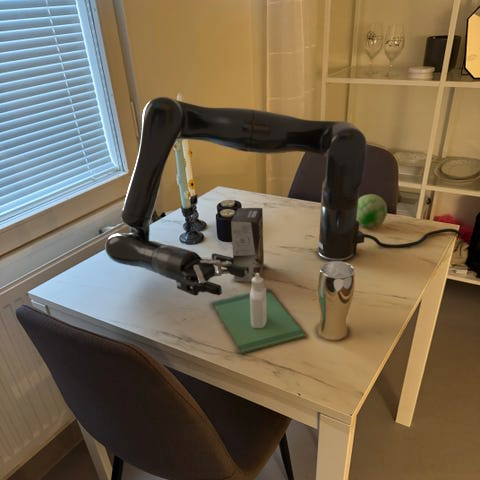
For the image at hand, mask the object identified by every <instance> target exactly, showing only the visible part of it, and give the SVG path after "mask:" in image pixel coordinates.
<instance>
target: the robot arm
mask: <svg viewBox="0 0 480 480" xmlns="http://www.w3.org/2000/svg"><path fill="white" fill-rule="evenodd" d="M141 128H142V129H141V137H140V144H139V151H138V155H137V158H136V163H135V166H134V170H133V173H132V175H131V179H130V182H129V185H128V188H127V192H126V195H125V199H124V201H123V205H122V208H121V209H122V210H121V213H120V220H121V221H122V223H123V224H125V225H126V226H128V227H129V233H123V232H122V233H113V234H112V235H110V236H109V237H107V238H106V241H105V244H104V250H105V253H106V255H107V257H108V258H109V259H110V260H112V261H113V262H115V263H117V264H120V265H126V266H131V267H137V268H142V269H145V270H147V271H150V272H153V273H155V274H158V275H160V276H162V277H163V278H167V279H170V280H173V281H175V283H176V289H178V290H180V291H183V292H185V293H187V294H190V295H193V296H198V295H199V293H208V294H211V295H214V296H220V295H222V293H223V292H222V291H223V290H222V286H221V284H218V283H215V282H212V281H209V280H210V279H211V278H214V277H221V276H222V275H224V274H225V275H226V274H227V275H228V274H229V275H232V276H238V277H241V278H243V277H244V276H245V269H244V268H243V267H240V266H236V265H234V258H233V256H229V255H228V256H227V255H223V254H220V253H216V252H214V253H211V257H210V258H202V257H201V256H200V255H199V254H198V253H197V252H195V251H193V250H189V249H186V248H183V247H179V246H176V245H173V244H166V243H162V242H159V241H153V240H150V233H151V232H150V231H151V230H150V223H151V219H152V217H153V214H154V210H155V207H156V203H157V200H158V196H159V191H160V187H161V183H162V178H163V174H164V170H165V167H166V165H167V161H168V159H169V156H170V154H171V151H172V150H173V148H174V146H175V144H176V142H177V140H193V141H203V142H208V143H211V144H215V145H217V146H221V147H224V148H228V149H231V150H236V151H238V152H239V151H241V152H245V153H252V154H261V155H279V154H286V153H294V152H301V153H308V154H313V155H317V156H321V157H325V158H326V167H325V177H324V179H323V180H322V184H321V195H320V197H321V199H320V218H319V234H318V235H319V236H318V242H317V246H318V249H317V255H318V256H319V257H320V258H321V259H323V260H325V261H327V262H331V261H342V262H346V261H348V260H350V259H351V258H353V257H354V256H357V250H358V249H357V248H358V245H359V244H364V243H365V238H366V239H370V240H372V241H374V242H375V243H376V245H378V246H379V247H382V248H392V249H394V248H395V249H396V248H397V249H399V248H407V247H408V248H409V247H412V246H413V247H414V246H417V245H420V244H422V243H423V242H424V241H425V240H426V239H427V238H428V237H430V236H433V235H438V234H442V233H443V234H444V233H454V234H455V235H458V236H463V233H462V232H461V231H460V230H458V229H456V228H442V229H437V230H433V231H429V232H427V233H425V234H424V235H423V236H422V237H421V238H420V239H419V240H416V241H412V242H407V243H401V244H400V243H399V244H390V243H384V242H381V241H380V240H379V239H378V238H377V237H376V236H373V235H371V234H368V233H364V232H363V231H361V230H360V226H359V221H357V220H356V219H357V209H358V199H359V198H360V189H361V185H363V181H364V175H365V168H366V161H367V153H368V143H367V138H366V136H365V134H364V133H363V132H362V131H361V130H360V129H359V128H358V127H357V126H355V125H354V124H353V123H350V122H348V121H344V120H313V119H312V120H311V119H303V118H300V117H296V116H291V115H287V114H283V113H276V112H272V111H267V110H259V109H254V108H253V109H252V108H241V107H208V106H202V105H197V104H193V103H189V102H185V101H181V100H178V99H174V98H172V97H169V96H157V97H154V98H153V99H151V100H149V101H148V102H147V104H146V105H145V107H144V109H143V112H142V127H141ZM216 267H217V270H216ZM222 268H224V269H222Z"/></svg>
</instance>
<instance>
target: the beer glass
mask: <svg viewBox="0 0 480 480" xmlns="http://www.w3.org/2000/svg"><path fill="white" fill-rule="evenodd" d="M355 272H356V269H355V267H354V266H353V265H352V264H350V263H349V262H346V261H327V262H325V263H323V264H322V265H320V268H319V276H318V277H319V278H318V283H317V286H318V287H317V296H318V304H319V305H318V306H319V311H320V319H319V323H318V327H317V333H318V334H319V336H320V337H322V338H323V339H326V340H330V341H337V340H341V339H344V338H345V337H346V336H347V335H348V324H347V321H348V315H349V311H350V308H351V305H352V302H353V299H354V292H355V285H356V283H355V281H356V280H355V276H356V273H355Z"/></svg>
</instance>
